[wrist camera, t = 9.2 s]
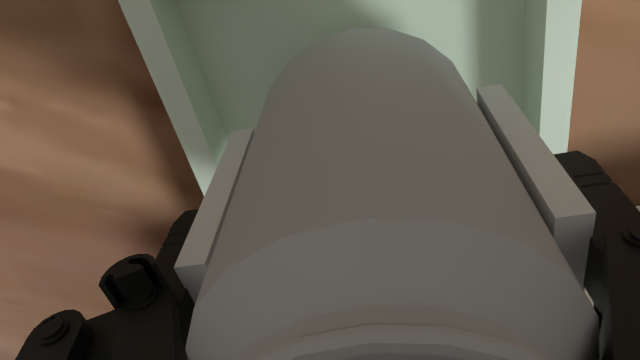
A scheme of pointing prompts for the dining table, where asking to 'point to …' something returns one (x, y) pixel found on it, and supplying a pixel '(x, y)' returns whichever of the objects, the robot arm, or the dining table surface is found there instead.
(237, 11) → the tray
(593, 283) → the robot arm
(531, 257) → the can
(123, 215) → the dining table surface
